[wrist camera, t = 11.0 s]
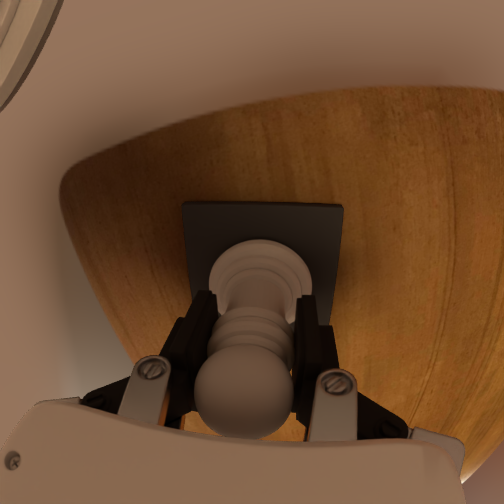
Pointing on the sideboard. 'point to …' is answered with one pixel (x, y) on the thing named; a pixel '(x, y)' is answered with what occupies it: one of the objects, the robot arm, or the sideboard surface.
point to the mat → (266, 228)
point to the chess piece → (251, 340)
